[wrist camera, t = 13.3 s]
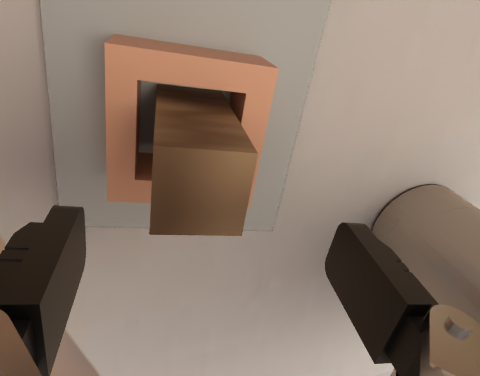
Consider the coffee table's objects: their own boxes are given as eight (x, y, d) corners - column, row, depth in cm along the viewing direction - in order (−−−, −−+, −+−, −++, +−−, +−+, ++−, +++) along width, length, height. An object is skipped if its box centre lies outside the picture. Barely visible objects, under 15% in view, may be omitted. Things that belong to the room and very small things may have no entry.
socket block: (325, -18, 22) (371, -21, 17) (267, 220, 30) (287, 263, 25) (41, -81, 18) (-3, -107, 13) (65, 214, 26) (44, 264, 21)
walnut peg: (221, 90, 22) (258, 153, 14) (213, 148, 24) (241, 235, 15) (157, 83, 21) (153, 145, 13) (154, 144, 23) (149, 234, 14)
